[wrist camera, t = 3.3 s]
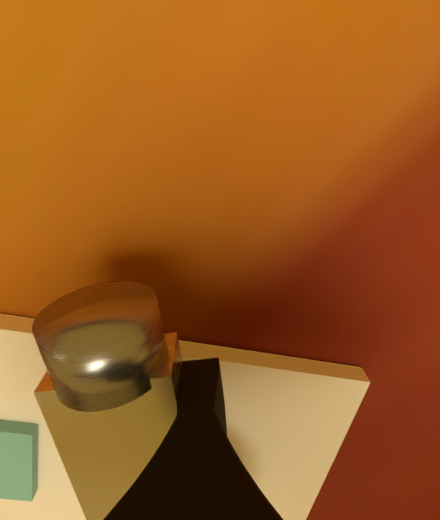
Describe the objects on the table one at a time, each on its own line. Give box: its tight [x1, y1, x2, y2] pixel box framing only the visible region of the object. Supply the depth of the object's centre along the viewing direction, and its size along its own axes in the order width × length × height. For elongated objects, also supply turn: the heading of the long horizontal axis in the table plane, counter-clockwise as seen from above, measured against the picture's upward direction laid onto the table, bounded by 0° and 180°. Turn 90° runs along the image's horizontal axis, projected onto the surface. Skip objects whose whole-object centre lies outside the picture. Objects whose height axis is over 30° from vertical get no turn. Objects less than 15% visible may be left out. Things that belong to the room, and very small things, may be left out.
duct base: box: [0, 313, 370, 520], centre depth 16 cm, size 14×17×3 cm
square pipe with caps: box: [32, 281, 182, 520], centre depth 12 cm, size 15×7×3 cm, turn 6°
